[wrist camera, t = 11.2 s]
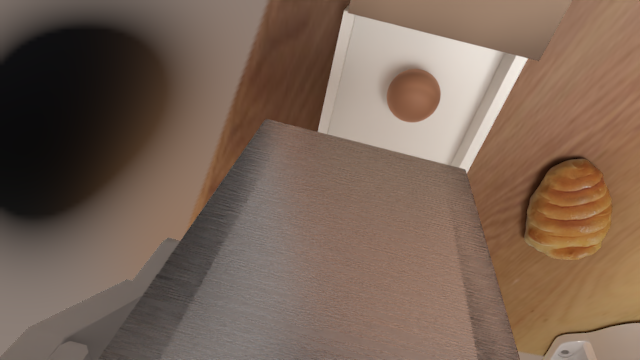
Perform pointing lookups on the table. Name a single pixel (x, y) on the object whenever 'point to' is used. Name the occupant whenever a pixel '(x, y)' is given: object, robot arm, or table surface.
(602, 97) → the table surface
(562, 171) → the pastry
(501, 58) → the tray
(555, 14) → the step block
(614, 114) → the table surface
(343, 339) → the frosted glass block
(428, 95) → the ball
